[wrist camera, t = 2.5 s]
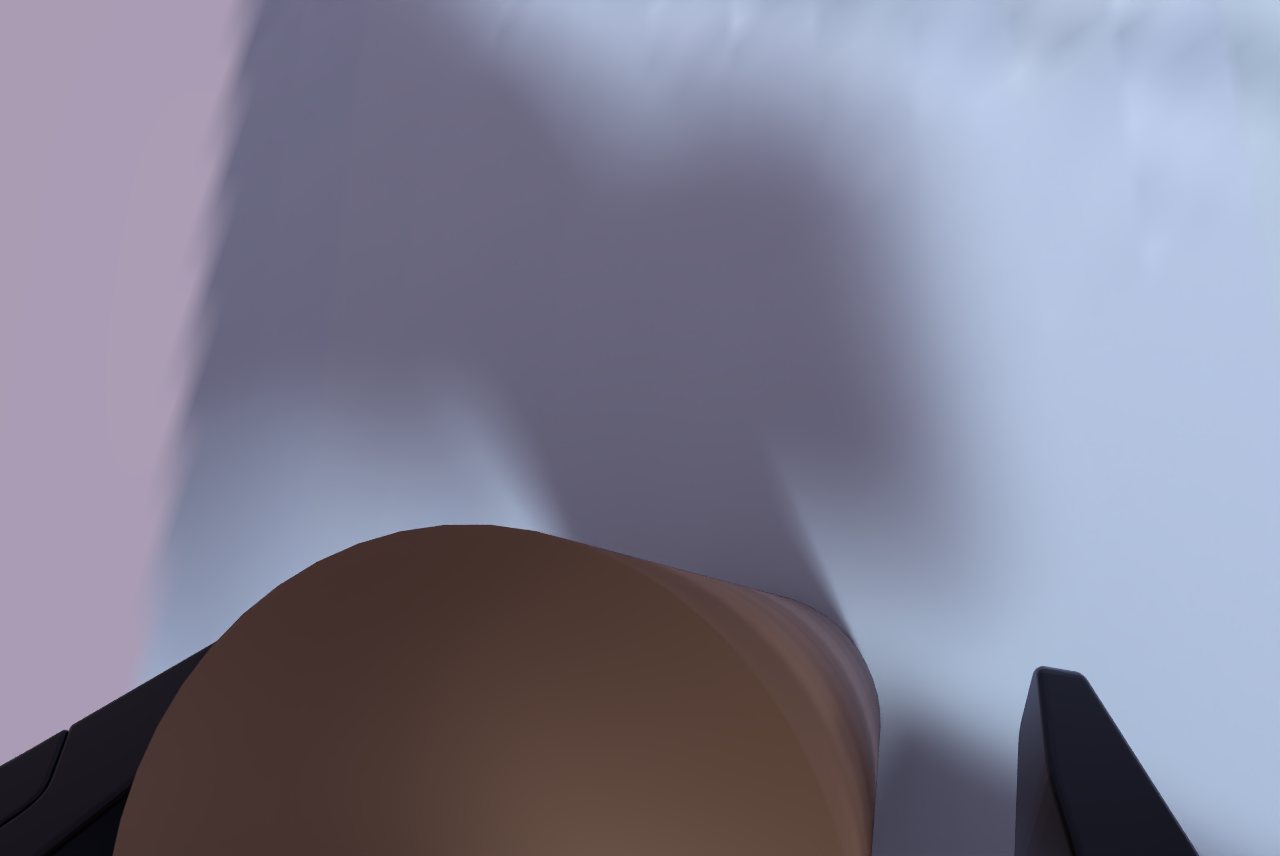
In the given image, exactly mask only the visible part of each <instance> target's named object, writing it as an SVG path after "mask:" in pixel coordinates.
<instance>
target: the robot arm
mask: <svg viewBox="0 0 1280 856" xmlns="http://www.w3.org/2000/svg"><path fill="white" fill-rule="evenodd" d="M215 643H216V642H214V643H213V644H211V645H209V646H207V647H206V648H204V649H202V650H201V651H199V652H197V653H195V654H194V655H192V656H190V657H188V658H187V659H185V660H183V661H182V662H180V663H178V664H176V665H175V666H173V667H171V668H170V669H168V670H166V671H164V672H163V673H161V674H159V675H158V676H156V677H154V678H152V679H151V680H149V681H147V682H145V683H144V684H142V685H140V686H139V687H137V688H135V689H133V690H132V691H130V692H128V693H127V694H125V695H123V696H121V697H120V698H118V699H116V700H114V701H113V702H111V703H109V704H108V705H106V706H104V707H102V708H101V709H99V710H97V711H95V712H94V713H92V714H90V715H89V716H87V717H85V718H83V719H82V720H80V721H78V722H77V723H75V724H73V725H72V726H71V727H70V729H69V731H68V730H63V731H61V732H59V733H57V734H56V735H54V736H52V737H50V738H49V739H47V740H45V741H44V742H42V743H40V744H39V745H37V746H35V747H33V748H32V749H30V750H28V751H26V752H25V753H23V754H21V755H19V756H17V757H15V758H14V759H12V760H10V761H9V762H7V763H5V764H3V765H1V766H0V856H113V851H114V847H115V843H116V838H117V834H118V829H119V825H120V820H121V817H122V814H123V811H124V808H125V805H126V802H127V799H128V796H129V793H130V790H131V787H132V784H133V781H134V778H135V775H136V772H137V769H138V767H139V765H140V763H141V761H142V759H143V756H144V754H145V752H146V750H147V748H148V746H149V743H150V741H151V739H152V737H153V735H154V733H155V730H156V728H157V726H158V724H159V723H160V721H161V719H162V718H163V716H164V714H165V713H166V711H167V709H168V708H169V706H170V704H171V703H172V701H173V699H174V698H175V696H176V694H177V693H178V691H179V689H180V688H181V686H182V684H183V683H184V682H185V680H186V679H187V678H188V676H189V675H190V674H191V673H192V671H193V670H194V669H195V667H196V666H197V665H198V663H199V662H200V661H201V660H202V658H203V657H204V656H205V654H206V653H207V652H208V650H209V649H210V648H211V647H212V646H213V645H214V644H215ZM1015 856H1199V854H1198V853H1197V851H1196V850H1195V848H1194V846H1193V845H1192V843H1191V842H1190V840H1189V839H1188V837H1187V835H1186V834H1185V832H1184V831H1183V829H1182V828H1181V826H1180V825H1179V823H1178V821H1177V820H1176V818H1175V817H1174V815H1173V814H1172V812H1171V810H1170V809H1169V807H1168V806H1167V804H1166V803H1165V801H1164V799H1163V798H1162V796H1161V795H1160V793H1159V792H1158V790H1157V788H1156V787H1155V785H1154V784H1153V782H1152V781H1151V779H1150V777H1149V776H1148V774H1147V773H1146V771H1145V770H1144V768H1143V766H1142V765H1141V763H1140V762H1139V760H1138V759H1137V757H1136V755H1135V754H1134V752H1133V751H1132V749H1131V748H1130V746H1129V745H1128V743H1127V741H1126V740H1125V738H1124V737H1123V735H1122V734H1121V732H1120V730H1119V729H1118V727H1117V726H1116V724H1115V723H1114V721H1113V719H1112V718H1111V716H1110V715H1109V713H1108V712H1107V710H1106V708H1105V707H1104V705H1103V704H1102V702H1101V701H1100V699H1099V697H1098V696H1097V694H1096V693H1095V691H1094V690H1093V688H1092V686H1091V685H1090V683H1089V682H1088V680H1087V679H1086V678H1085V677H1084V676H1083V675H1082V674H1080V673H1079V672H1075V671H1069V670H1063V669H1057V668H1051V667H1045V666H1041V667H1038V668H1036V670H1035V671H1034V673H1033V676H1032V680H1031V684H1030V688H1029V692H1028V696H1027V700H1026V704H1025V708H1024V712H1023V716H1022V720H1021V725H1020V732H1019V742H1018V769H1017V798H1016V828H1015Z"/></svg>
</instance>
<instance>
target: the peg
mask: <svg viewBox="0 0 1280 856" xmlns="http://www.w3.org/2000/svg"><path fill="white" fill-rule="evenodd" d="M879 742H880V708H879V702H878V695H877V692H876V688H875V685H874V681H873V678H872V676H871V674H870V671H869V669H868V667H867V664H866V663H865V661H864V659H863V657H862V656H861V654H860V652H859V651H858V649H857V648H856V647H855V645H854V644H853V643H852V641H851V640H850V639H849V637H848V636H847V635H846V634H845V633H844V632H843V631H842V630H841V629H840V628H839V627H838V626H837V625H836V624H834V623H833V622H832V621H831V620H829V619H828V618H827V617H826V616H824V615H823V614H821V613H819V612H818V611H816V610H814V609H813V608H811V607H809V606H807V605H805V604H802V603H800V602H798V601H795V600H792V599H788V598H785V597H781V596H778V595H774V594H770V593H766V592H762V591H759V590H755V589H751V588H747V587H744V586H740V585H736V584H732V583H729V582H725V581H721V580H717V579H714V578H710V577H706V576H702V575H699V574H695V573H691V572H687V571H684V570H680V569H676V568H672V567H668V566H665V565H661V564H657V563H653V562H650V561H646V560H642V559H638V558H635V557H631V556H627V555H623V554H620V553H616V552H612V551H608V550H605V549H601V548H597V547H593V546H590V545H586V544H582V543H578V542H574V541H571V540H567V539H563V538H559V537H556V536H552V535H548V534H544V533H541V532H537V531H531V530H523V529H516V528H509V527H502V526H495V525H441V526H435V527H428V528H421V529H414V530H407V531H400V532H397V533H393V534H390V535H387V536H383V537H380V538H376V539H373V540H369V541H366V542H362V543H359V544H356V545H354V546H352V547H350V548H347V549H345V550H343V551H341V552H338V553H336V554H334V555H332V556H329V557H327V558H325V559H323V560H320V561H318V562H316V563H314V564H313V565H311V566H310V567H308V568H306V569H305V570H303V571H301V572H300V573H298V574H297V575H295V576H293V577H292V578H290V579H288V580H287V581H285V582H284V583H282V584H280V585H279V586H277V587H276V588H275V589H274V590H272V591H271V592H270V593H269V594H267V595H266V596H265V597H264V598H262V599H261V600H260V601H259V602H258V603H256V604H255V605H254V606H253V607H251V608H250V609H249V610H248V611H246V612H245V613H244V614H243V615H242V616H241V617H240V618H239V619H238V620H237V621H236V622H235V623H234V624H233V625H232V626H231V627H230V628H229V629H228V630H227V631H226V632H225V633H224V634H223V635H222V636H221V637H220V638H219V639H218V640H217V641H216V643H215V644H214V645H213V646H212V647H211V648H210V649H209V650H208V652H207V653H206V654H205V656H204V657H203V658H202V660H201V661H200V662H199V663H198V665H197V666H196V667H195V669H194V670H193V671H192V673H191V674H190V675H189V676H188V678H187V679H186V680H185V682H184V683H183V684H182V686H181V688H180V689H179V691H178V693H177V694H176V696H175V698H174V699H173V701H172V703H171V704H170V706H169V708H168V709H167V711H166V713H165V714H164V716H163V718H162V719H161V721H160V723H159V724H158V726H157V728H156V730H155V733H154V735H153V737H152V739H151V741H150V743H149V746H148V748H147V750H146V752H145V754H144V756H143V759H142V761H141V763H140V765H139V767H138V769H137V772H136V775H135V778H134V781H133V784H132V787H131V790H130V793H129V796H128V799H127V802H126V805H125V808H124V811H123V814H122V817H121V820H120V825H119V829H118V834H117V838H116V843H115V847H114V851H113V856H871V854H872V840H873V826H874V812H875V798H876V784H877V770H878V756H879Z"/></svg>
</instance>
